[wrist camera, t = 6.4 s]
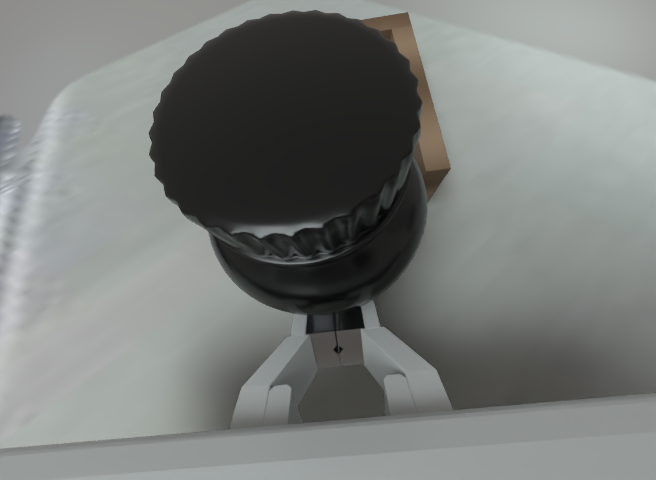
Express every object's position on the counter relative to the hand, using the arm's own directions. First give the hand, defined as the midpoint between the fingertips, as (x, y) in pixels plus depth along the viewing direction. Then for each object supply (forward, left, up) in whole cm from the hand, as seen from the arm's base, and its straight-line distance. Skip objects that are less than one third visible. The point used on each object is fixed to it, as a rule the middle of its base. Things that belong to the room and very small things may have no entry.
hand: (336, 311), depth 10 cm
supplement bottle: (-2, -3, -5) cm, 6 cm away
